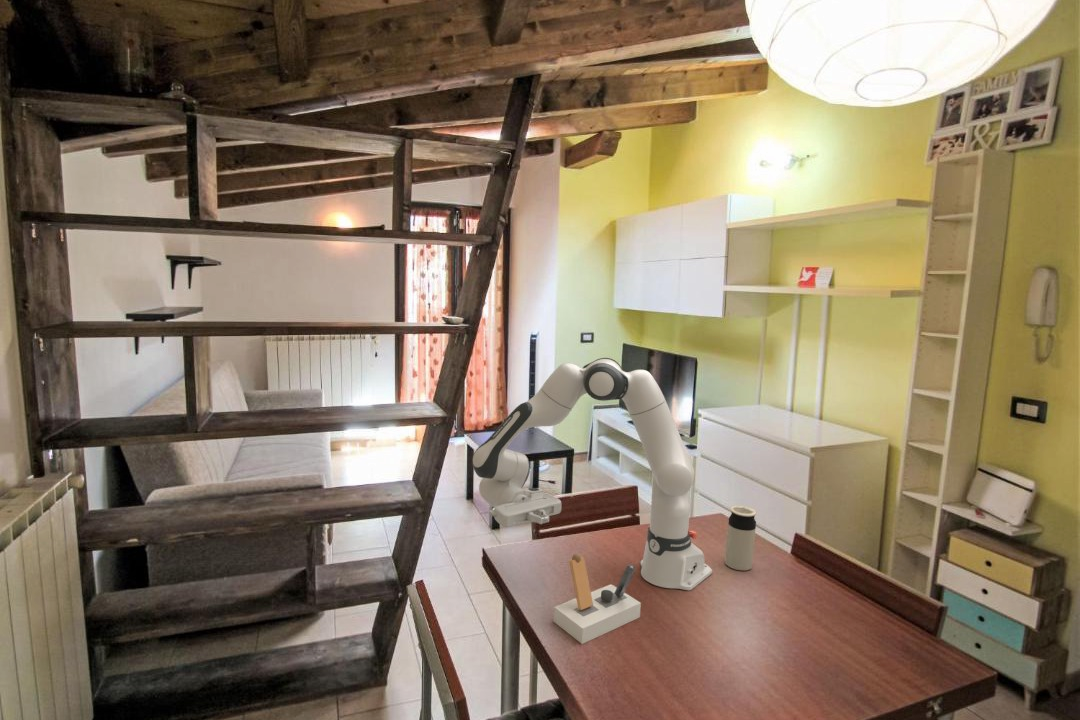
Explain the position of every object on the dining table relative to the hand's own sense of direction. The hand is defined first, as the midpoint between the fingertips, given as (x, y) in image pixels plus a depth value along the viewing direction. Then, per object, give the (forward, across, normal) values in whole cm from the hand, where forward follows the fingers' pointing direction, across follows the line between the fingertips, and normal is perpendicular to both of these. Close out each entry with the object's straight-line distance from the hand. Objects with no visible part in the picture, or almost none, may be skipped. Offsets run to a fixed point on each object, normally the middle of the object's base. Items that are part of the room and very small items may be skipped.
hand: (545, 520), depth 158 cm
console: (+18, +4, +21) cm, 28 cm away
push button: (+18, +7, +17) cm, 26 cm away
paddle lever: (+18, 0, +17) cm, 25 cm away
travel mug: (+21, +61, +21) cm, 68 cm away
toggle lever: (+18, +11, +17) cm, 27 cm away
